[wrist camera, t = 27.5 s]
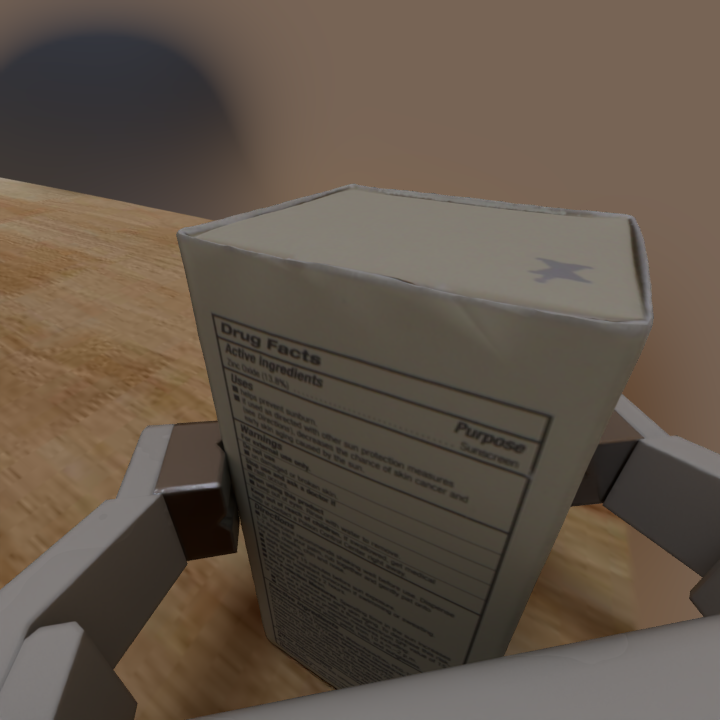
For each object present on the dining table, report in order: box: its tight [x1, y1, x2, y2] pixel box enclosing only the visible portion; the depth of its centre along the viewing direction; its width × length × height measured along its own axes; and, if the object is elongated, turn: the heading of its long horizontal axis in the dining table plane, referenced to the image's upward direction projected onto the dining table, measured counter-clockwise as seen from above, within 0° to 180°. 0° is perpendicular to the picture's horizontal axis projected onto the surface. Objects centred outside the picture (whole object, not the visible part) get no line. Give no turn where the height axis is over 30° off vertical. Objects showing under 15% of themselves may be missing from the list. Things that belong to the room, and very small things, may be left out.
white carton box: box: [176, 184, 654, 689], centre depth 8 cm, size 5×4×10 cm
